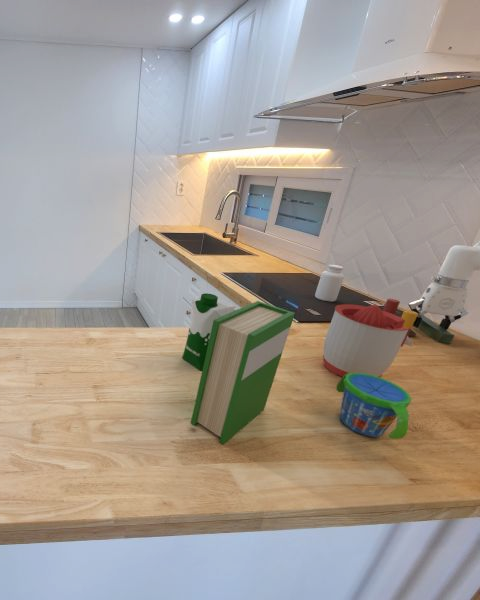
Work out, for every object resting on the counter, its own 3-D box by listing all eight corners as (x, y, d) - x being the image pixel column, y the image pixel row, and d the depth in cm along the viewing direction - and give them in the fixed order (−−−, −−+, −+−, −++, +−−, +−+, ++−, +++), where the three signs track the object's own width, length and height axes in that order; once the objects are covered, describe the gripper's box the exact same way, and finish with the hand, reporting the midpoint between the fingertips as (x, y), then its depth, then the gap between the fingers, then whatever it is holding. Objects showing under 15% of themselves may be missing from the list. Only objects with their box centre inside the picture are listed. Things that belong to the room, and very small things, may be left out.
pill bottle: (321, 294, 153) (332, 263, 148) (339, 301, 146) (352, 268, 141) (310, 296, 150) (320, 263, 145) (327, 302, 144) (339, 269, 138)
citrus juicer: (399, 399, 82) (436, 326, 75) (315, 374, 91) (341, 306, 83) (387, 370, 95) (417, 305, 87) (314, 350, 103) (336, 289, 96)
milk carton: (177, 357, 95) (189, 291, 87) (200, 351, 99) (214, 287, 92) (201, 374, 88) (216, 303, 80) (224, 366, 92) (241, 298, 84)
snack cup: (314, 399, 80) (329, 363, 77) (362, 405, 79) (378, 368, 75) (355, 450, 66) (375, 408, 62) (414, 458, 65) (438, 416, 61)
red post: (391, 317, 132) (400, 298, 129) (401, 324, 126) (410, 305, 123) (370, 314, 134) (378, 295, 131) (378, 321, 128) (387, 301, 125)
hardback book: (223, 445, 65) (253, 336, 56) (190, 422, 71) (213, 319, 62) (264, 409, 76) (295, 312, 67) (232, 392, 81) (257, 300, 72)
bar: (416, 320, 130) (420, 313, 129) (449, 344, 112) (454, 335, 111) (406, 319, 131) (410, 311, 130) (438, 342, 113) (442, 333, 112)
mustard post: (408, 330, 121) (417, 310, 118) (419, 338, 115) (429, 317, 112) (385, 326, 123) (393, 306, 120) (394, 334, 117) (404, 313, 114)
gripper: (425, 281, 114) (403, 327, 120) (491, 289, 109) (465, 337, 115) (413, 275, 120) (393, 319, 127) (475, 282, 115) (451, 328, 122)
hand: (427, 328), depth 121 cm, fingers open, 7 cm apart
